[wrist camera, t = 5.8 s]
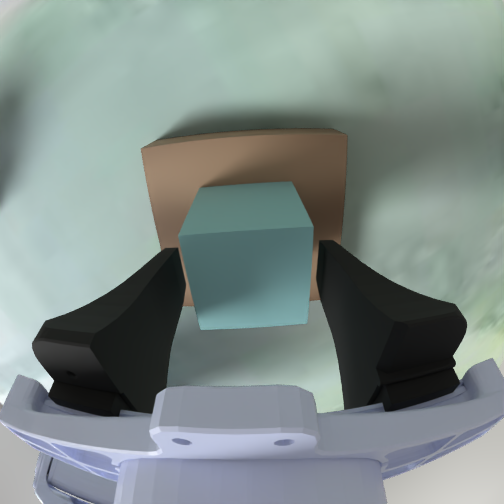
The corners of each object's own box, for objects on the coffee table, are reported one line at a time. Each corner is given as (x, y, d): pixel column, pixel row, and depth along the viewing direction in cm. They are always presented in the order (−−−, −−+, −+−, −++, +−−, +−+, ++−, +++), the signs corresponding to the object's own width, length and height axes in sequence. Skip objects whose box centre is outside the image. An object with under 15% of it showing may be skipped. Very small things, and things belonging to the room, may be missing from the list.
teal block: (291, 259, 16) (307, 323, 12) (211, 264, 16) (200, 329, 12) (291, 181, 14) (313, 226, 9) (199, 187, 14) (178, 235, 9)
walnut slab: (323, 271, 20) (333, 298, 17) (184, 278, 20) (176, 306, 18) (330, 127, 15) (347, 135, 12) (158, 138, 15) (140, 148, 12)
